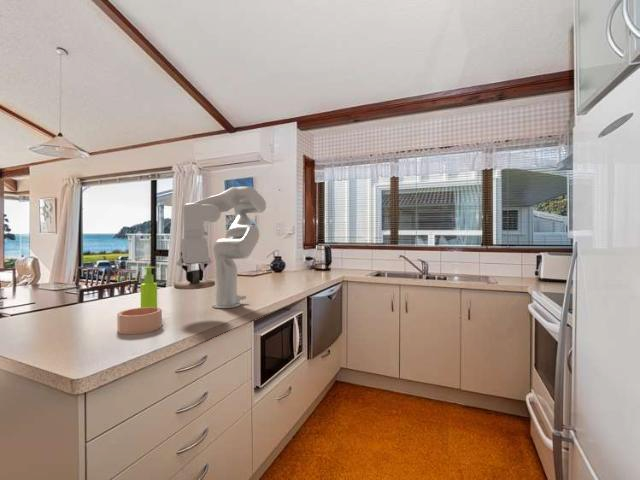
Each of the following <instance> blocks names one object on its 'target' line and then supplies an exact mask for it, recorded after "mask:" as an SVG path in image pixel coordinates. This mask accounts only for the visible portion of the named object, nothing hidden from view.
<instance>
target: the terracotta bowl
mask: <svg viewBox="0 0 640 480" xmlns="http://www.w3.org/2000/svg"><path fill="white" fill-rule="evenodd" d="M162 314H163V312H162V308H159V307H157V308H155V307H144V308H141V307H135V308H131V309H126V310H125V309H124V310H121V311H120V312H118V313H117V314H116V315H117V316H116V318H117V319H116V320H117V321H116V322H117V328H116V329H117V333H119V334H120V335H141V334H146V333H150V332H154V331H156V330H159V329H160V328H161V327H162V326H163V324H162V323H163V319H162V317H163V316H162Z"/></svg>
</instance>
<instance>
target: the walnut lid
mask: <svg viewBox="0 0 640 480" xmlns="http://www.w3.org/2000/svg"><path fill="white" fill-rule="evenodd" d="M191 272H192V282H188V281H187V280H182V281H178V282H175V283H174V284H173V288H174V289H176V290H198V289H199V290H200V289H207V288H211V287H214V286H216V280H212V279H203V280H202V281H200V270H199V269H191Z"/></svg>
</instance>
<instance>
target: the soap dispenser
mask: <svg viewBox="0 0 640 480" xmlns="http://www.w3.org/2000/svg"><path fill="white" fill-rule="evenodd" d="M157 267H158V266H145V267H144V270H146V274H144V276H143V277H144V278H143V283H140V308H144V307H155V308H158V283H157V282H154V278H155V277H154V274H152V269H157Z"/></svg>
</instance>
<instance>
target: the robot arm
mask: <svg viewBox="0 0 640 480" xmlns="http://www.w3.org/2000/svg"><path fill="white" fill-rule="evenodd" d="M266 208H267V203H266V199H265V198H264V196H263V195H261V194H260V193H259V192H258V191H257V189H255V188H253V187H252V186H246V185H245V186H244V185H243V186H233V187H229V188H228V189H226V190H224V191H223V192H221V193H219V194H215V195H211V196H210V197H206V198H205V197H204V198H202V199H200V200H197V201H194V202H192V203H191V202H189V203H185V204H183V238H181V240H180V245H179V257H178V258H179V259H178V260H177V262H176V266H178V267H179V268H182V269H183V270H184V271H185V278H186V279H185V281H188V282H192V272H191V270H192V264H197V265H198V270H200V281H202V280H204V271H205V269H206V268H207V267H208V266H209V265H210V264H212V263H213V262H212V260H211V257H210V256H209V245H208V241H207V238H206V236H207V235H208V231H206V230H205V223H206V224H207V223H216V222H218V221H219V220H220V218H221V215H222V213H225V212H226V213H227V212H229V211H231V210H232V209H233V211H234V220H233V222H232V223H231V225H230V226H229V227H228V229H227V231H226V234H225V238H219V239H217V240H216V241H215V242H214V244H213V249H212V250H213V254H214V259H215V260H214V261H215V301H214V302H213V303H212V304H211V306H212V308H213V309H232V308H233V309H234V308H236V307H239V306H241V301H242V300H243V301H244V300H247V295H246V294H245V295H239V294H238V267H237V264H236V262H235V260H245V259H248V258H249V257H250V256H251V254H252V253H253V251H254V249H255V247H256V245H257V243H258V241H259V238H260V230H259V228H258V226H256V225H255V224H252V222H251V219H250V218H249V216H248V215H247V214H262V213H263V212H265V210H266Z"/></svg>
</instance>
